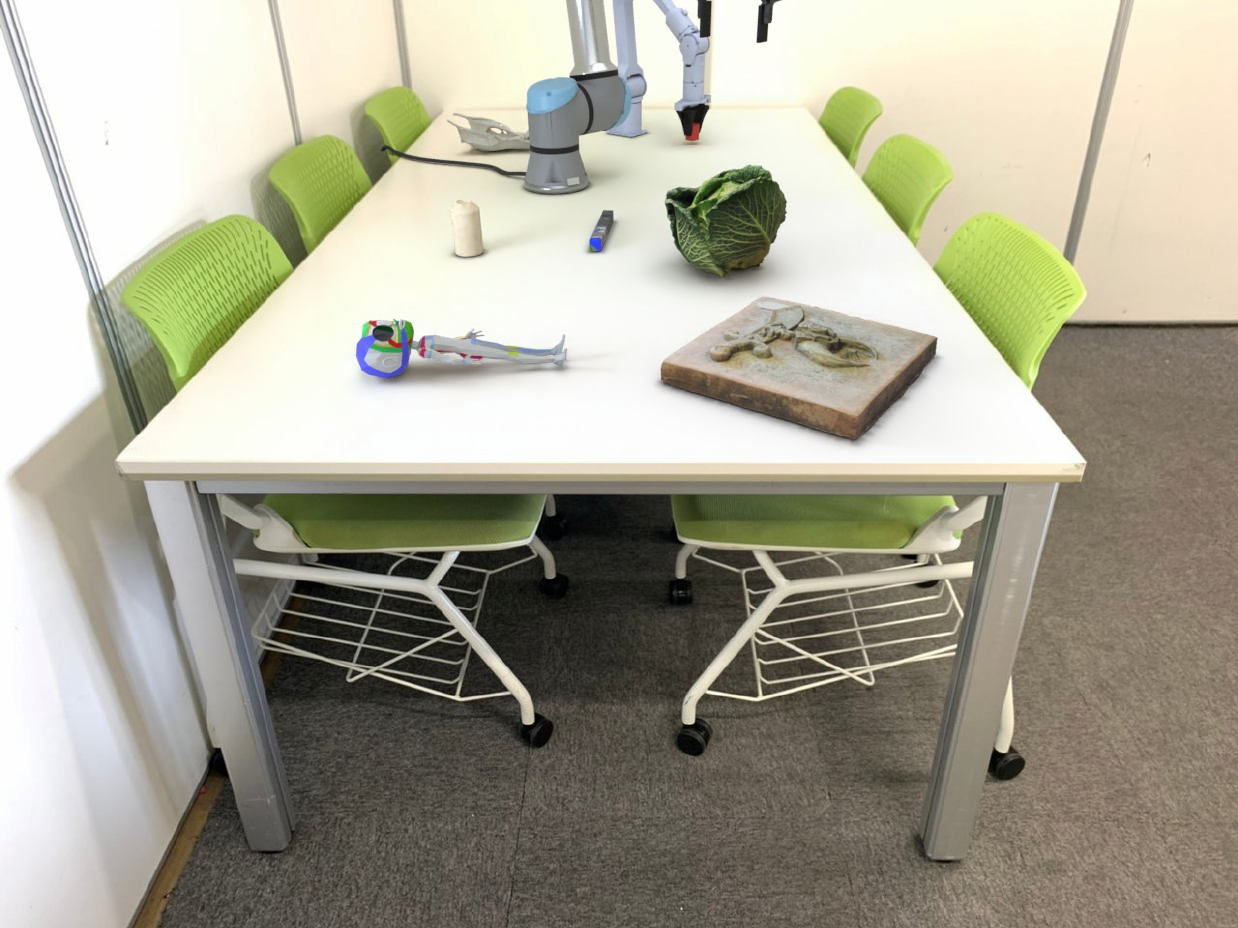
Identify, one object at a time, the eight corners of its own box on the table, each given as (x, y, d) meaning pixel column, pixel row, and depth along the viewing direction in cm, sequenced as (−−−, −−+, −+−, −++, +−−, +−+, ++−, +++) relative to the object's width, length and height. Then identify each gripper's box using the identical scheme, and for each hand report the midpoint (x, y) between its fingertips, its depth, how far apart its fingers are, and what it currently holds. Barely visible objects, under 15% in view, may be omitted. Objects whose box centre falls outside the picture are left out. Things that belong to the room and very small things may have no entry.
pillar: (613, 210, 190) (600, 241, 173) (613, 220, 191) (600, 251, 174) (603, 210, 190) (589, 240, 173) (603, 220, 191) (589, 251, 174)
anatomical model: (457, 110, 251) (543, 108, 247) (461, 144, 256) (546, 143, 252) (440, 121, 238) (531, 120, 235) (445, 157, 243) (534, 156, 240)
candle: (488, 249, 176) (483, 198, 171) (475, 258, 172) (470, 206, 167) (463, 246, 178) (457, 196, 173) (450, 255, 174) (443, 204, 168)
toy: (569, 347, 126) (349, 329, 122) (563, 400, 131) (350, 385, 126) (565, 318, 135) (359, 301, 130) (559, 369, 139) (360, 354, 134)
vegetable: (694, 294, 173) (643, 202, 166) (775, 239, 175) (728, 145, 167) (734, 307, 155) (678, 205, 147) (824, 245, 156) (773, 141, 149)
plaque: (865, 393, 108) (658, 335, 123) (857, 444, 112) (657, 381, 127) (948, 314, 129) (763, 273, 144) (939, 359, 133) (759, 314, 148)
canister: (683, 140, 249) (683, 125, 246) (688, 137, 251) (688, 122, 249) (696, 141, 247) (696, 126, 245) (701, 138, 250) (701, 123, 248)
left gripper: (807, -86, 162) (797, 42, 174) (696, -86, 176) (693, 33, 188) (785, -85, 158) (776, 46, 169) (673, -85, 172) (671, 37, 183)
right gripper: (690, 87, 234) (688, 141, 242) (721, 79, 244) (718, 131, 251) (668, 84, 238) (667, 137, 245) (699, 76, 248) (697, 128, 255)
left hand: (732, 40), depth 178 cm, fingers open, 13 cm apart
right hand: (692, 134), depth 249 cm, fingers closed on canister, 4 cm apart
